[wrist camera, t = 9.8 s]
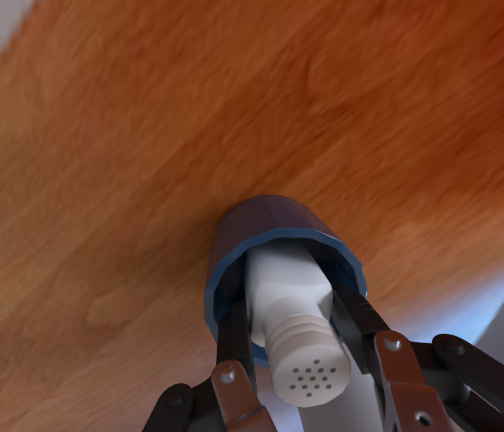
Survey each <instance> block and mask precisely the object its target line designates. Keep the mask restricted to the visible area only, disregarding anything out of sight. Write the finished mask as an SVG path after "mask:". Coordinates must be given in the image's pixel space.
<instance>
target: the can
mask: <svg viewBox="0 0 504 432" xmlns="http://www.w3.org/2000/svg"><path fill="white" fill-rule="evenodd" d="M341 344H342V343H341ZM342 346H343V347H344V349H345V351H346V353H347V355H348V357H349V359H350V360H351V379H350V381H349V383H348V384H347V386H346V387H345V389H344V391H343V392H342V393H341V394H339V395H338V396H336V397H335V398H333V399H332V400H330V401H329V402H327V403H326V404H321V405H316V406H311V407H307V408H305V407H299V406H298V410H299V414H300V418H301V421H302V425H303V429H304V432H383V428H382V423H381V419H380V414H379V409H378V405H377V400H376V396H375V391H374V385H373V381H374V379H373V377H372V376H371V374H366V375H362V373H361V372H360V370H359V368H358V366H357V364H356V363H355V361H354V359H353V357H352V355H351V353H350V352H349V350H348V348H347V346H346V344H342Z"/></svg>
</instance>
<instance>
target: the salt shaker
mask: <svg viewBox="0 0 504 432" xmlns="http://www.w3.org/2000/svg"><path fill="white" fill-rule="evenodd" d="M244 289H245V298H246V307H247V316H248V322H249V329H250V337H251V340H252V342H254V343H255V344H257V345H259V346H260V347H265V351H266V354H267V357H268V362H269V368H270V374H271V379H272V385H273V390H274V393H275V394H276V395H277V396H278V397H279V398H281V399H282V400H283V401H284V402H285V403H286V404H289V405H294V406H299V407H305V408H307V407H311V406H316V405H321V404H326V403H327V402H329V401H330V400H332V399H333V398H335V397H336V396H338V395H339V394H341V393H342V392H343V391H344V389H345V387H346V386H347V384H348V383H349V381H350V379H351V360H350V359H349V357H348V355H347V353H346V351H345V349H344V347H343V346H342V344H341V342H340V340H339V338H338V336H337V334H336V332H335V330H334V329H333V327H332V325H331V324H330V322H329V320H330V315H331V310H332V303H333V291H332V288H331V284H330V283H329V281H328V280H327V278H326V277H325V275H324V274H323V272H322V271H321V269H320V268H319V266H318V265H317V263H316V262H315V260H314V258H313V257H312V255H311V254H310V252H309V251H308V249H307V248H306V246H305V245H304V243H303V242H301V241H299V240H297V239H282V238H275V239H272V240H269V241H267V242H264V243H261V244H258V245H255V246H253V247H250V248H248V249H247V253H246V262H245V272H244Z"/></svg>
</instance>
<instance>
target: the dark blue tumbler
mask: <svg viewBox="0 0 504 432" xmlns="http://www.w3.org/2000/svg"><path fill="white" fill-rule="evenodd" d="M275 238H282V239H297V240H299V241H301V242H303V243H304V245H305V246H306V248H307V249H308V251H309V252H310V254H311V255H312V257H313V258H314V260H315V262H316V263H317V265H318V266H319V268H320V269H321V271H322V272H323V274H324V275H325V277H326V278H327V280H328V281H329V283H330V284H331V285H334V284H339V283H343V284H344V285H345V286H346V288H347V289H348V290H349V292H350V291H356V292H358V293H359V294H361V295H363V296H364V297H365V298H366V296H367V292H368V289H367V284H366V280H365V276H364V272H363V267H362V264H361V262H360V261H359V260H358V259H357V257H356V256H355V255H354V254H353V253H352V252H351V250H350V249H349V248H348V247H347V246H346V245H345V243H344V242H343V241H342V240H341V239H340V238H339V237H338V236H337V235H336V234H335V233H333V232H332V231H331V230H330V229H329V228H328V227H327V226H326V225H325V224H324V223H323V222H322V221H321V220H320V219H319V218H318V217H317V216H316V215H315V214H314V213H313V212H312V211H311V210H310V209H309V208H308V207H306V206H304V205H302V204H301V203H299V202H297V201H296V200H293V199H291V198H288V197H283V196H277V195H264V196H258V197H254V198H251V199H248V200H246V201H244V202H242V203H240V204H239V205H237V206H235V207H234V208H233V209H232V210H230V211H229V212H228V213H227V214H226V215H225V216H224V218H223V219H222V220H221V222H220V223H219V225H218V227H217V229H216V232H215V234H214V238H213V240H212V243H211V250H210V256H209V263H208V270H207V277H206V284H205V290H204V318H205V321H206V323H207V325H208V327H209V329H210V331H211V333H212V335H213V337H214V338H215V340H216V342H217V339H218V322H219V320H220V318H221V317H222V315H223V314H229V313H231V303H234V302H239V301H245V306H246V298H245V289H244V272H245V262H246V253H247V249H248V248H250V247H253V246H255V245H258V244H261V243H264V242H267V241H269V240H272V239H275ZM246 311H247V307H246ZM329 322H330V324H331V325H332V327H333V329H334V330H335V332H336V334H337V336H338V338H339V340H340V342H341V343H343V342H344V341H343V339H342V337H341V335H340V333H339V331H338V330H337V328H336V326H335V324H334V322H333V320H332V318H331V315H330V320H329ZM251 343H252V352H253V361H254V365H257V366H260V367H264V368H269V362H268V357H267V354H266V351H265V347H260V346H259V345H257V344H255V343H254V342H252V340H251Z"/></svg>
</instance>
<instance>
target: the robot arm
mask: <svg viewBox="0 0 504 432" xmlns="http://www.w3.org/2000/svg"><path fill="white" fill-rule="evenodd" d="M331 288H332V291H333V303H332V310H331V318H332V320H333V322H334V324H335V326H336V328H337V330H338V331H339V333H340V335H341V337H342V339H343V341H344V342H345V344H346V346H347V348H348V350H349V352H350V353H351V355H352V357H353V359H354V361H355V363H356V364H357V366H358V368H359V370H360V372H361V373H362V375H366V374H371V376H372V377H373V379H374V381H373V385H374V391H375V396H376V400H377V405H378V409H379V414H380V419H381V423H382V428H383V432H455V430H454V428H453V426H452V424H451V421H450V419H449V417H450V418H451V419H452V420H453V421H454V422H455V423H456V424H457V425H459V426H460V427H461V428H462V429H463V430H464V431H465V432H504V365H503V364H501V363H500V362H498V361H497V360H495V359H494V358H492V357H490V356H489V355H487V354H485V353H484V352H482V351H481V350H479V349H478V348H476V347H475V346H473V345H471V344H470V343H468V342H467V341H465V340H463V339H462V338H459V337H457V336H454V335H450V334H439V335H436V336H435V337H434V338H433V340H432V343H419V342H412V341H409V340H408V339H407V338H406V337H405V336H404V335H402V334H400V333H398V332H396V331H392V330H391V329H390V328H389V327H388V326H387V324H386V323H385V322H384V321H383V319H382V318H381V317H380V316H379V314H378V313H377V312H376V311H375V310H374V308H373V307H372V306H371V305H370V304H369V302H368V301H367V300H366V298H365V297H364V296H363V295H361V294H359V293H358V292H356V291H350V292H349V290H348V289H347V288H346V286H345V285H344V284H343V283H339V284H334V285H331ZM470 388H471V389H473V390H474V391H475V392H476V393H478V394H479V395H480V396H482V397H483V398H484V399H486V400H487V401H488V402H490V403H491V404H492V405H493V406H495V407H496V408H497V409H498V410H499V411H500V412H501V413H502V414H501V413H500V412H498V411H497V410H496V409H495V408H493V407H492V406H490V405H489V404H488V403H487V402H486V401H484V400H483V399H482V398H480V397H479V396H478V395H477V394H475V393H474V392H473V391H471V390H470ZM448 416H449V417H448ZM142 432H277V430H276V427H275V425H274V423H273V421H272V419H271V417H270V415H269V413H268V411H267V409H266V408H265V406H262V405H261V403H260V401H259V399H258V397H257V387H256V378H255V370H254V361H253V352H252V343H251V337H250V329H249V322H248V316H247V311H246V306H245V301H239V302H234V303H231V313H229V314H223V315H222V317H221V318H220V320H219V322H218V339H217V360H216V367H215V368H214V369H213V371H212V374H211V376H210V377H209V378H208V379H207V380H206V381H204V382H203V383H201V384H199V385H197V386H195V387H193V388H190V386H188V385H187V384H183V383H179V384H175V385H173V386H171V387H169V388H168V389H166V390H165V391H164V392H163V393H162V395H161V396H160V397H159V399H158V401H157V403H156V405H155V407H154V409H153V411H152V413H151V415H150V417H149V419H148V421H147V423H146V425H145V426H144V428H143V430H142Z"/></svg>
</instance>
